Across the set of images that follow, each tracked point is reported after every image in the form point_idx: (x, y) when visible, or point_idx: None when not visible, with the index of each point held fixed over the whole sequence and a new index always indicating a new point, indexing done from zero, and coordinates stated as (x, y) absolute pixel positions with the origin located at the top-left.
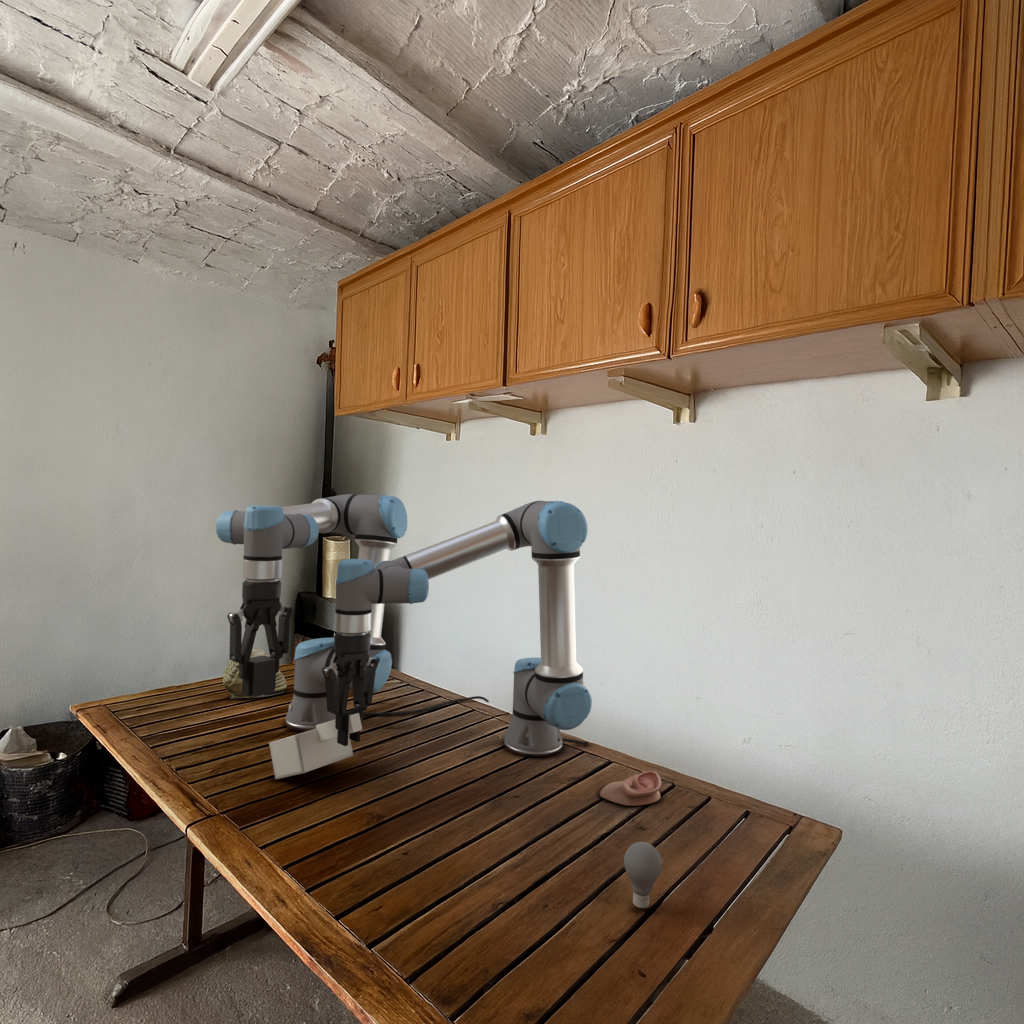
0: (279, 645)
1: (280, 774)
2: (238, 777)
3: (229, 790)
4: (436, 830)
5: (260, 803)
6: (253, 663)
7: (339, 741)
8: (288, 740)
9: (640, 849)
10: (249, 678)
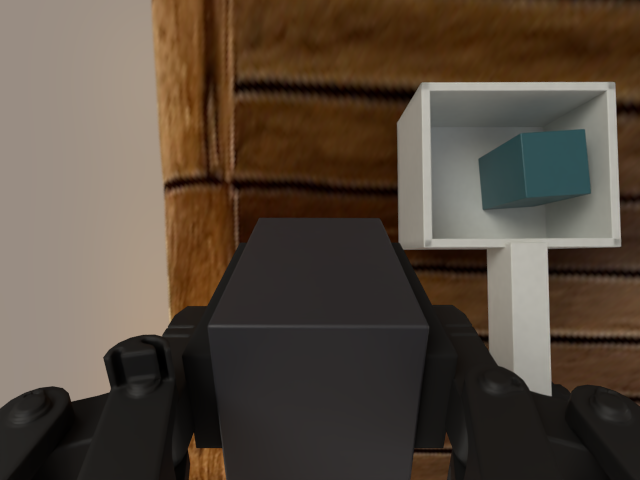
0: (613, 464)
1: (399, 148)
2: (344, 33)
3: (293, 92)
4: (449, 456)
5: (311, 202)
6: (225, 459)
7: None
8: (420, 203)
9: None
10: None
